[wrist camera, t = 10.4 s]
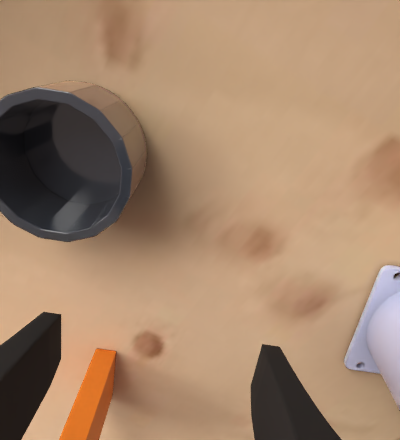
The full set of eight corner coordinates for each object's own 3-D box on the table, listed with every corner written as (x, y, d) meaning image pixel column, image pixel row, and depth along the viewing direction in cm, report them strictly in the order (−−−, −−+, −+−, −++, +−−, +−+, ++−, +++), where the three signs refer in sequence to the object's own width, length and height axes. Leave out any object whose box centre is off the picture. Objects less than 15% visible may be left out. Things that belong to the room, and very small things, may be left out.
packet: (116, 351, 27) (84, 446, 20) (112, 394, 28) (82, 494, 22) (96, 348, 27) (57, 442, 20) (94, 391, 28) (57, 491, 22)
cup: (153, 92, 20) (137, 103, 16) (141, 217, 22) (125, 251, 19) (16, 70, 19) (-34, 75, 16) (21, 198, 22) (-20, 229, 18)
